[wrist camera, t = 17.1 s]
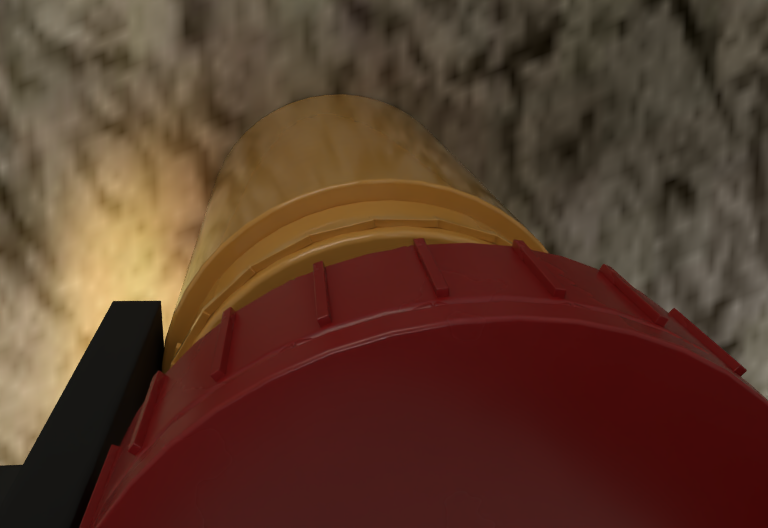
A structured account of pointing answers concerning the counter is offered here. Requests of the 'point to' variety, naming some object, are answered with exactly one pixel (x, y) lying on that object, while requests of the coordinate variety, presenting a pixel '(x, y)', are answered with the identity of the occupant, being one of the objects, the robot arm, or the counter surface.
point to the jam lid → (445, 406)
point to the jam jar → (326, 205)
